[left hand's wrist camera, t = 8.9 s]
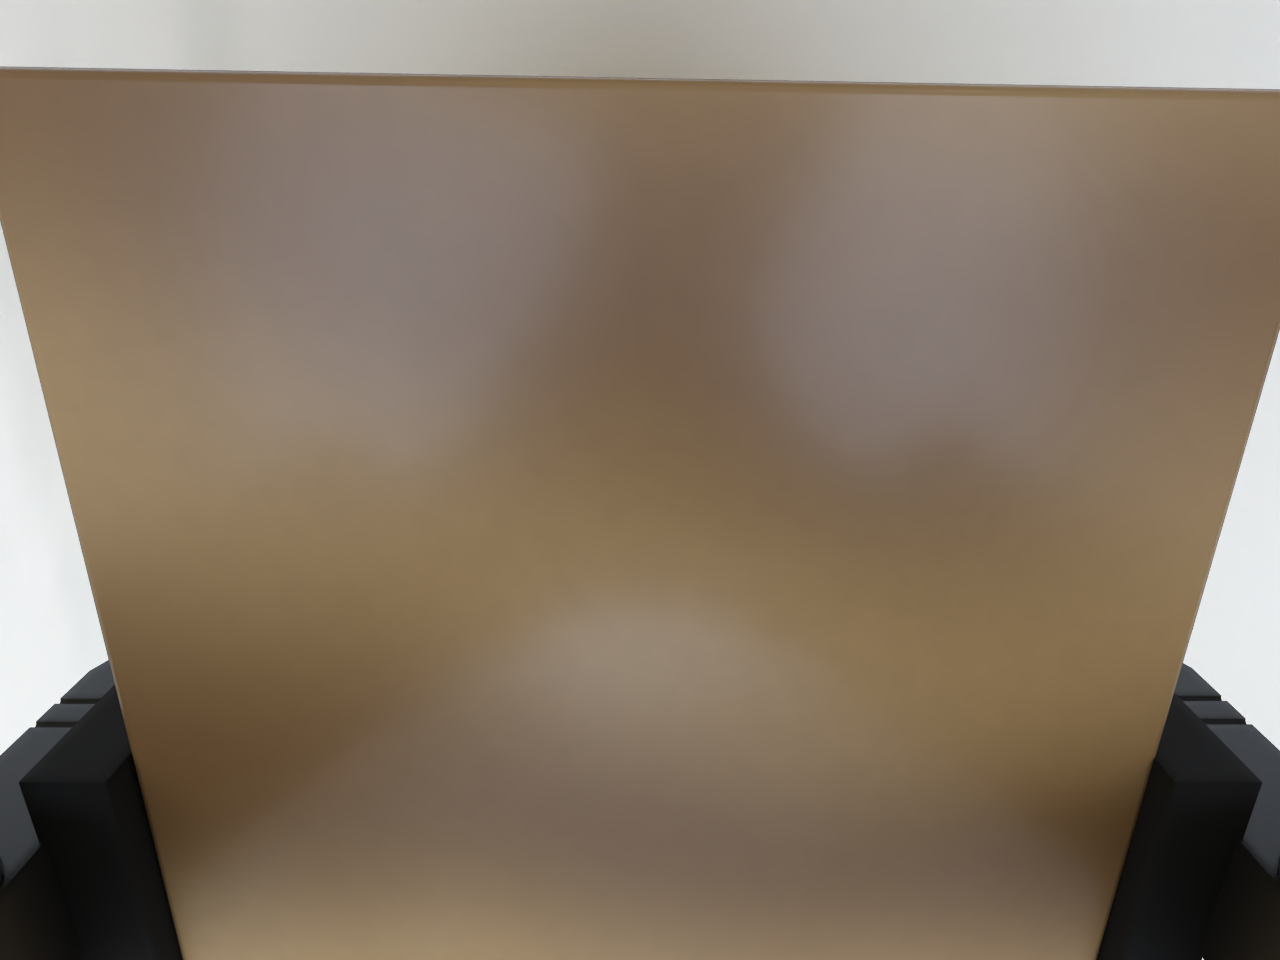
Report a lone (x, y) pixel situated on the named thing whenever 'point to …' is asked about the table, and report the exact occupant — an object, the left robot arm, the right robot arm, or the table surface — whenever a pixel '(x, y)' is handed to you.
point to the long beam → (642, 492)
